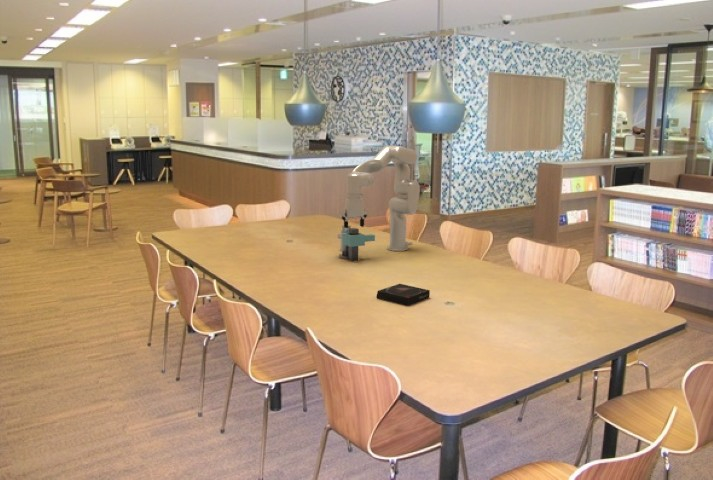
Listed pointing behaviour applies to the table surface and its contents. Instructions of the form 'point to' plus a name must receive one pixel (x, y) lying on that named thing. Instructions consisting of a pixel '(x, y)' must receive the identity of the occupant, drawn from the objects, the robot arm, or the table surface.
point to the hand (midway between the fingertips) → (354, 227)
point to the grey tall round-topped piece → (344, 247)
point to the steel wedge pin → (354, 250)
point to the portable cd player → (403, 294)
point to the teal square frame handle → (356, 239)
